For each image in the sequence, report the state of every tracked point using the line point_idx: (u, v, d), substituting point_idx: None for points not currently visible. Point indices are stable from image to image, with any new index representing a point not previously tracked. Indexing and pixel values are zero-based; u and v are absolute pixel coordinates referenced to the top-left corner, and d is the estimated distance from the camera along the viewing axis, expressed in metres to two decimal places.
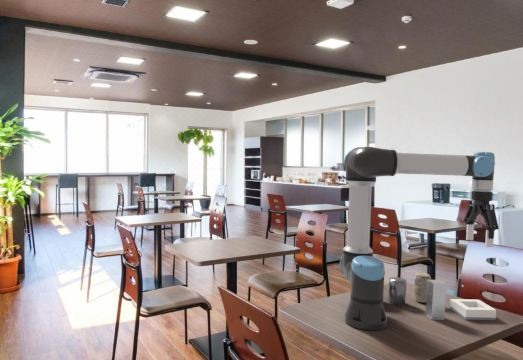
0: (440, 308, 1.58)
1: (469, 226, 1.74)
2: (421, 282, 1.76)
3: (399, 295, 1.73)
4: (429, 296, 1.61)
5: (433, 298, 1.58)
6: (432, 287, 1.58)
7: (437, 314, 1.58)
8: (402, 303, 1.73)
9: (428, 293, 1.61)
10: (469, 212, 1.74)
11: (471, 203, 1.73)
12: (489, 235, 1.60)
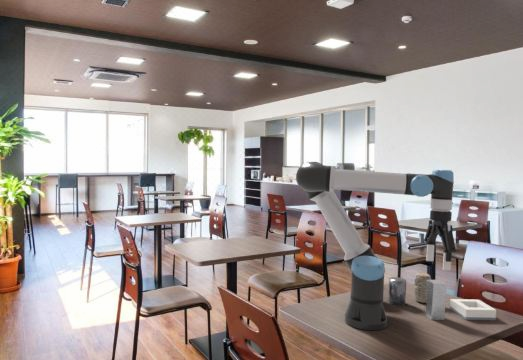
0: (440, 308, 1.58)
1: (429, 246, 1.66)
2: (421, 282, 1.76)
3: (399, 295, 1.73)
4: (429, 296, 1.61)
5: (433, 298, 1.58)
6: (432, 287, 1.58)
7: (437, 314, 1.58)
8: (402, 303, 1.73)
9: (428, 293, 1.61)
10: (429, 232, 1.66)
11: (431, 222, 1.65)
12: (446, 258, 1.52)
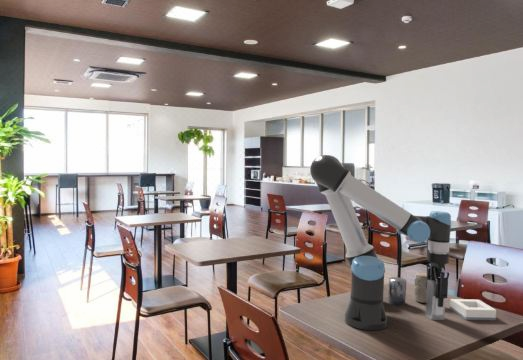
0: None
1: None
2: (421, 282, 1.76)
3: (399, 295, 1.73)
4: (429, 296, 1.61)
5: (433, 298, 1.58)
6: (432, 287, 1.58)
7: None
8: (402, 303, 1.73)
9: (428, 293, 1.61)
10: (429, 276, 1.65)
11: (429, 266, 1.65)
12: (438, 303, 1.57)
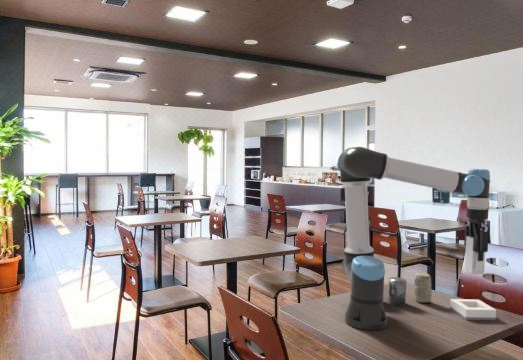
0: None
1: None
2: (421, 282, 1.76)
3: (399, 295, 1.73)
4: (468, 251, 1.64)
5: (473, 253, 1.62)
6: (472, 242, 1.62)
7: None
8: (402, 303, 1.73)
9: (467, 249, 1.65)
10: (467, 233, 1.69)
11: (467, 223, 1.69)
12: (478, 257, 1.61)
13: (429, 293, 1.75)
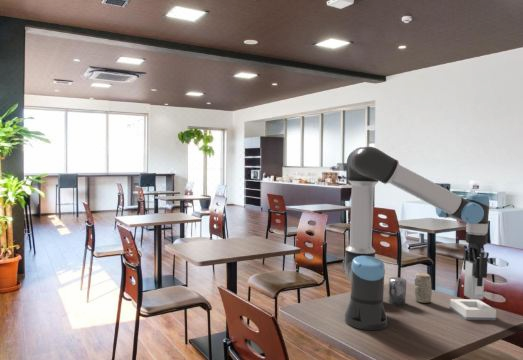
0: None
1: None
2: (421, 282, 1.76)
3: (399, 295, 1.73)
4: (468, 276, 1.65)
5: (472, 278, 1.62)
6: (471, 267, 1.63)
7: None
8: (402, 303, 1.73)
9: (466, 273, 1.66)
10: (466, 258, 1.70)
11: (466, 247, 1.70)
12: (478, 283, 1.61)
13: (429, 293, 1.75)
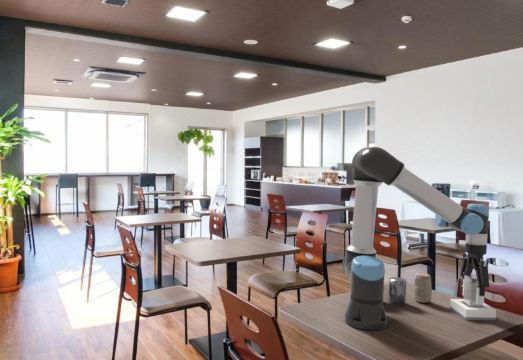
0: None
1: None
2: (421, 282, 1.76)
3: (399, 295, 1.73)
4: (466, 291, 1.65)
5: (471, 293, 1.63)
6: (470, 282, 1.63)
7: None
8: (402, 303, 1.73)
9: (465, 288, 1.66)
10: (464, 265, 1.71)
11: (465, 255, 1.70)
12: (480, 292, 1.59)
13: (429, 293, 1.75)
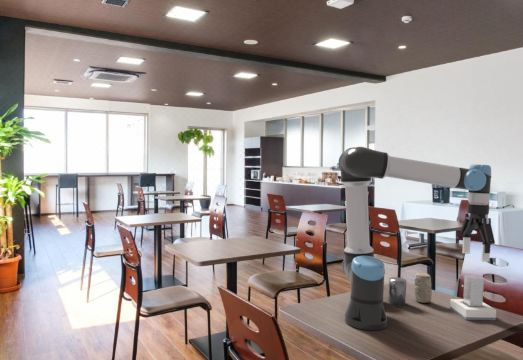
0: (477, 302, 1.63)
1: (465, 239, 1.71)
2: (421, 282, 1.76)
3: (399, 295, 1.73)
4: (466, 291, 1.65)
5: (471, 293, 1.63)
6: (470, 282, 1.63)
7: None
8: (402, 303, 1.73)
9: (465, 288, 1.66)
10: (465, 225, 1.71)
11: (467, 216, 1.70)
12: (485, 249, 1.57)
13: (429, 293, 1.75)
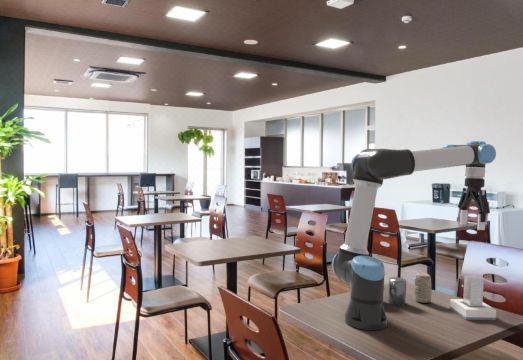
0: (477, 302, 1.63)
1: (463, 211, 1.85)
2: (421, 282, 1.76)
3: (399, 295, 1.73)
4: (466, 291, 1.65)
5: (471, 293, 1.63)
6: (470, 282, 1.63)
7: None
8: (402, 303, 1.73)
9: (465, 288, 1.66)
10: (463, 198, 1.85)
11: (465, 190, 1.83)
12: (481, 219, 1.71)
13: (429, 293, 1.75)
